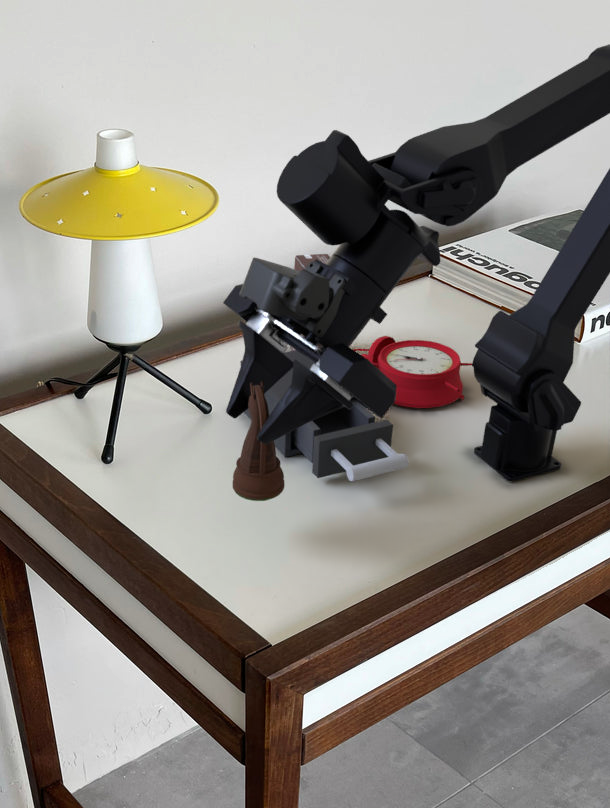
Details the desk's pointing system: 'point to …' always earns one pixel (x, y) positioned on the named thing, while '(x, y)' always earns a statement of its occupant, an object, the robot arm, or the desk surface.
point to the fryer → (275, 396)
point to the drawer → (349, 444)
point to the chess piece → (258, 457)
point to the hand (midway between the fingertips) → (244, 428)
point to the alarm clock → (418, 371)
